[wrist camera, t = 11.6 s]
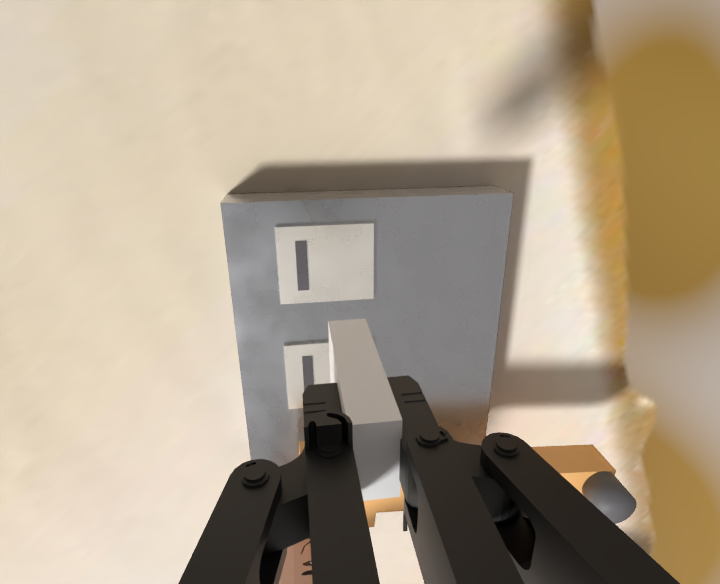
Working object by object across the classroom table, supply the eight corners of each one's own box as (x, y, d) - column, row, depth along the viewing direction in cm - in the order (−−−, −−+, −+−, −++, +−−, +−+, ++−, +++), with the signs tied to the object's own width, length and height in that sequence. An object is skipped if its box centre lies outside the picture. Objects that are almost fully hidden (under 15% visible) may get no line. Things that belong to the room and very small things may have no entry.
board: (226, 194, 30) (207, 223, 22) (494, 185, 32) (555, 209, 25) (255, 445, 37) (247, 528, 30) (470, 423, 40) (512, 496, 32)
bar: (297, 499, 34) (299, 561, 29) (299, 441, 32) (301, 497, 27) (583, 483, 38) (624, 536, 33) (600, 430, 36) (646, 478, 31)
